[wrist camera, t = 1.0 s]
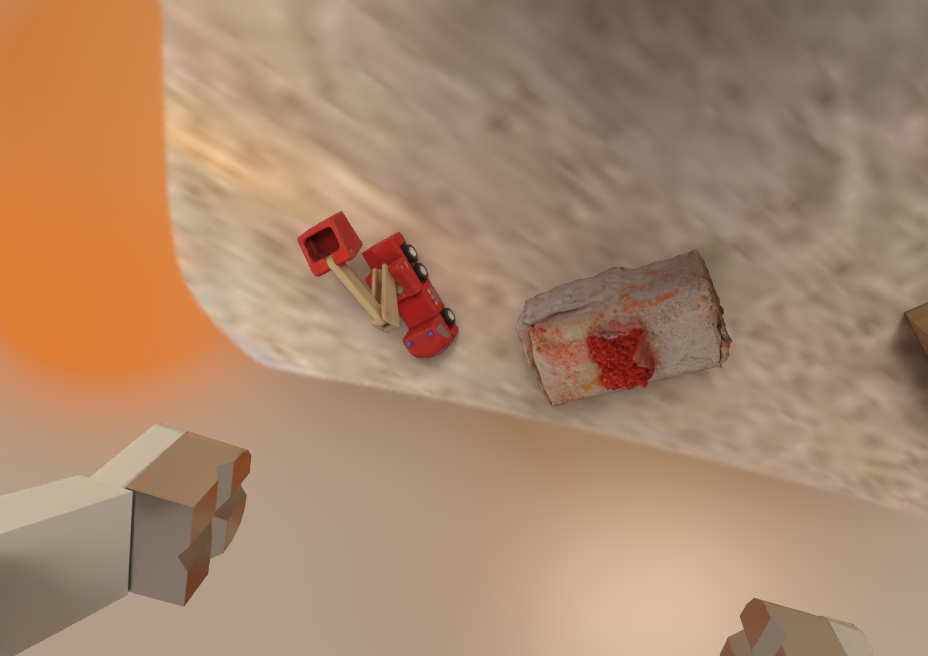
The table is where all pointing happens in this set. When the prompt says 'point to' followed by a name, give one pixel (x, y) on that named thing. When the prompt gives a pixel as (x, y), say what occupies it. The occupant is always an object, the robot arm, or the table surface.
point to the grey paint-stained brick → (624, 329)
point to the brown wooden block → (920, 324)
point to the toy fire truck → (384, 283)
